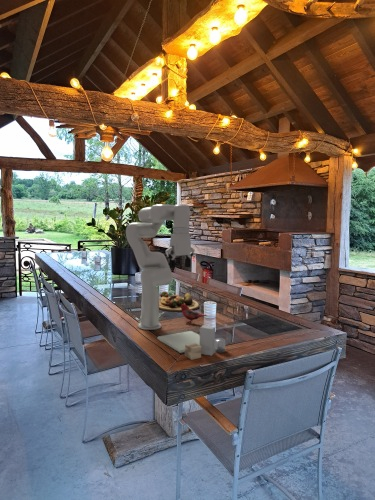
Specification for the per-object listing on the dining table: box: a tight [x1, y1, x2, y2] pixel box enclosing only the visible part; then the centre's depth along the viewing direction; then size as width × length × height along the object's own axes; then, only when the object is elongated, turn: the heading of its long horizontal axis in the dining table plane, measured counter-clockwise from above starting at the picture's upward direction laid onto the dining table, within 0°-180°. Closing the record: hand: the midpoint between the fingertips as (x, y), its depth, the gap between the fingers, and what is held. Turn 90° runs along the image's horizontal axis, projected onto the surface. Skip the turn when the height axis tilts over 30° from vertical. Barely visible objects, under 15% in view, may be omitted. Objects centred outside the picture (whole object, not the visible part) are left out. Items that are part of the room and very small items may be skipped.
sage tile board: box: [157, 330, 200, 354], centre depth 172 cm, size 20×20×1 cm
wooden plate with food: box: [159, 290, 200, 313], centre depth 241 cm, size 32×32×8 cm
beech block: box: [184, 343, 202, 361], centre depth 154 cm, size 5×5×5 cm
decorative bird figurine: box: [181, 304, 208, 324], centre depth 203 cm, size 3×18×10 cm, turn 59°
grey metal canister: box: [214, 337, 227, 354], centre depth 163 cm, size 5×5×5 cm
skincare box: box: [199, 324, 216, 357], centre depth 158 cm, size 6×4×12 cm
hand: (179, 267), depth 169 cm, fingers open, 9 cm apart
